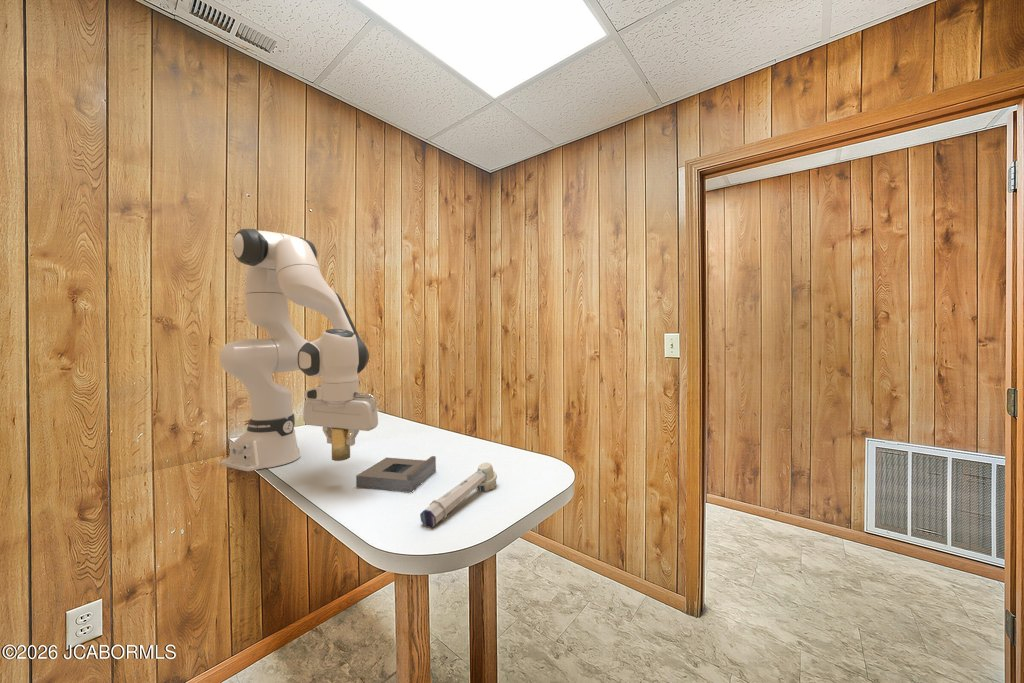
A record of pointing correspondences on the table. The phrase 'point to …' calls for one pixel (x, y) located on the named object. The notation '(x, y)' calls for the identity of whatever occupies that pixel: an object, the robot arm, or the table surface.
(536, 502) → the table surface
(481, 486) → the beige piece
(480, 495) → the table surface
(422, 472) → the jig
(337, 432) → the gold metallic cylinder
